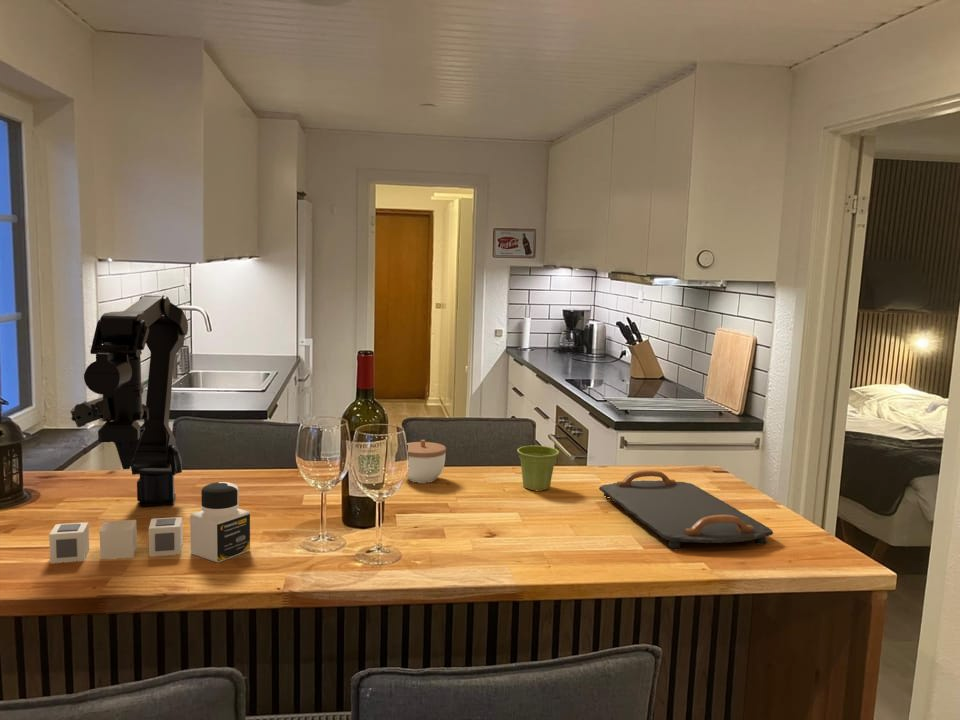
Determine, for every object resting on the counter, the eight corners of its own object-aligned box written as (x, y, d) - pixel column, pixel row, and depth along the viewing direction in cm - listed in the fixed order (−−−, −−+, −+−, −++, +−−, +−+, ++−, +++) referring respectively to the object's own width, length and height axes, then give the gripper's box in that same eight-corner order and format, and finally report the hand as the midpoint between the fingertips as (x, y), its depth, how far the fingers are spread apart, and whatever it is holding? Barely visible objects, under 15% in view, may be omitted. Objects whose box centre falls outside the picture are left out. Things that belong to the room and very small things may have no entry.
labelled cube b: (89, 550, 137) (88, 521, 136) (83, 561, 132) (82, 531, 131) (56, 552, 135) (55, 523, 135) (50, 564, 130) (48, 533, 130)
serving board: (784, 551, 149) (787, 519, 148) (671, 558, 143) (673, 525, 142) (683, 490, 186) (685, 464, 185) (590, 494, 180) (591, 467, 180)
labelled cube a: (182, 544, 141) (182, 515, 140) (180, 555, 136) (180, 525, 135) (152, 546, 140) (151, 517, 139) (149, 557, 135) (148, 527, 134)
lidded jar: (403, 472, 192) (404, 433, 190) (448, 474, 191) (449, 436, 189) (394, 484, 181) (395, 444, 180) (441, 487, 180) (442, 447, 179)
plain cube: (136, 547, 139) (136, 519, 138) (133, 558, 134) (132, 529, 134) (105, 549, 138) (104, 521, 137) (100, 560, 133) (99, 531, 132)
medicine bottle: (217, 563, 133) (217, 493, 131) (189, 554, 137) (188, 486, 135) (251, 551, 139) (250, 484, 137) (223, 542, 143) (222, 476, 141)
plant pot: (558, 494, 178) (560, 456, 177) (516, 492, 178) (518, 454, 177) (555, 482, 187) (557, 446, 186) (515, 481, 187) (516, 444, 186)
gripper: (83, 375, 149) (86, 456, 151) (62, 394, 131) (66, 486, 133) (148, 374, 152) (150, 454, 154) (136, 393, 134) (138, 483, 137)
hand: (126, 468), depth 145 cm, fingers closed
